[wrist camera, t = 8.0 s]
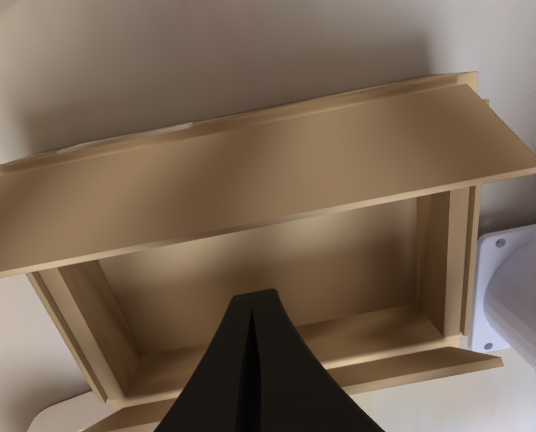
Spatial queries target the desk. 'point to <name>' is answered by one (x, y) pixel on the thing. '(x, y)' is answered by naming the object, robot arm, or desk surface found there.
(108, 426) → the flap far
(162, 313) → the carton
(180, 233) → the flap near
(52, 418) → the bracket
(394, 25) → the desk surface
